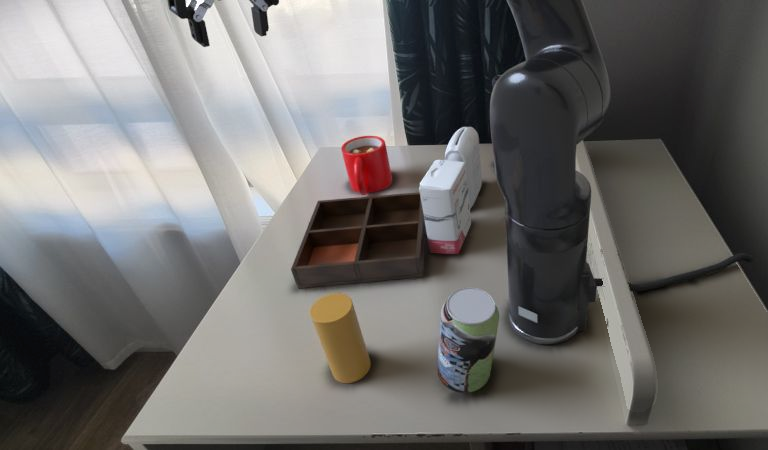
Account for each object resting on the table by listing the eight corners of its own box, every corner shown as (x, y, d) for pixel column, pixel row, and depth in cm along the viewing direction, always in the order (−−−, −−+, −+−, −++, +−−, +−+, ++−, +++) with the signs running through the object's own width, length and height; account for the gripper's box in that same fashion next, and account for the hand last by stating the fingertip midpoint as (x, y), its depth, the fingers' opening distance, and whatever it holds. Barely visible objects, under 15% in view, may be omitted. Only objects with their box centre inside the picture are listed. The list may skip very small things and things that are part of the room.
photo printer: (462, 181, 92) (456, 119, 85) (484, 182, 92) (480, 120, 84) (447, 211, 84) (439, 146, 77) (471, 213, 83) (465, 147, 76)
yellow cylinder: (372, 351, 60) (355, 291, 54) (368, 381, 56) (348, 320, 50) (336, 354, 60) (314, 294, 54) (329, 385, 56) (305, 324, 50)
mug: (343, 206, 87) (332, 167, 82) (353, 173, 97) (344, 137, 92) (388, 203, 87) (380, 164, 83) (394, 170, 97) (387, 133, 92)
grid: (426, 209, 85) (424, 191, 83) (423, 277, 71) (419, 257, 68) (323, 218, 84) (317, 200, 82) (297, 288, 70) (290, 269, 68)
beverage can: (442, 354, 59) (430, 280, 52) (503, 354, 59) (499, 279, 52) (435, 400, 54) (420, 324, 47) (502, 400, 53) (497, 323, 46)
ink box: (458, 256, 74) (450, 189, 67) (427, 253, 75) (416, 186, 68) (472, 223, 81) (466, 159, 74) (444, 221, 82) (435, 157, 75)
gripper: (165, -76, 55) (196, 60, 66) (281, -79, 65) (292, 40, 75) (134, -96, 58) (169, 37, 69) (249, -96, 67) (264, 21, 78)
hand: (233, 39), depth 72 cm, fingers open, 8 cm apart
